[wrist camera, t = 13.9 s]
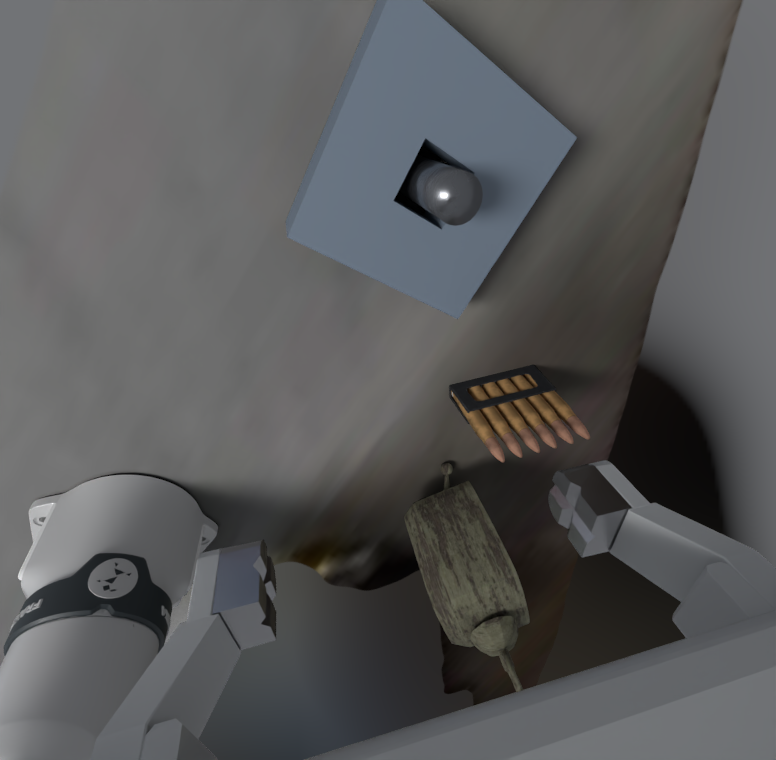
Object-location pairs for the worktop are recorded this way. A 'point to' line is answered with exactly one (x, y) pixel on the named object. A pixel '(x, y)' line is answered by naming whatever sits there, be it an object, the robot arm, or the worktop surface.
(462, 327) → the worktop surface
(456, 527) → the tabletop clock
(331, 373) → the worktop surface
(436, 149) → the bore block
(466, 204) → the steel pin
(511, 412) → the ammunition clip
